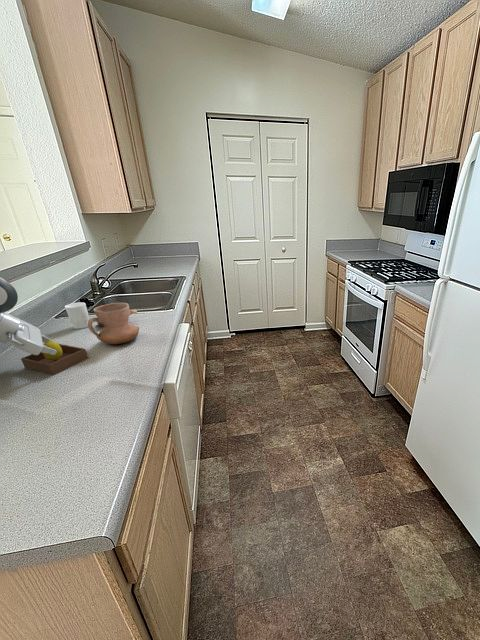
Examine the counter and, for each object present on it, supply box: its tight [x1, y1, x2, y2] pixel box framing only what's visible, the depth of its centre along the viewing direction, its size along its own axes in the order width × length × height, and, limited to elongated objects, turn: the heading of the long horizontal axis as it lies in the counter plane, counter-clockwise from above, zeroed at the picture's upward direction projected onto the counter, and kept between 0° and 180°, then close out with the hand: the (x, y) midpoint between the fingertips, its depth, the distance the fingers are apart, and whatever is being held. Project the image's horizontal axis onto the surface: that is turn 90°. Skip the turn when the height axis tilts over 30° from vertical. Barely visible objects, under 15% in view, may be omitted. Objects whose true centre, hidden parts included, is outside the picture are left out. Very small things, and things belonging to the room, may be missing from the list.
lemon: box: [43, 340, 63, 361], centre depth 115 cm, size 6×6×8 cm
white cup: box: [64, 301, 90, 330], centre depth 148 cm, size 8×8×10 cm
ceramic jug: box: [87, 302, 140, 345], centre depth 131 cm, size 18×14×14 cm
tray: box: [20, 343, 89, 376], centre depth 117 cm, size 14×13×4 cm
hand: (54, 348), depth 116 cm, fingers open, 8 cm apart
